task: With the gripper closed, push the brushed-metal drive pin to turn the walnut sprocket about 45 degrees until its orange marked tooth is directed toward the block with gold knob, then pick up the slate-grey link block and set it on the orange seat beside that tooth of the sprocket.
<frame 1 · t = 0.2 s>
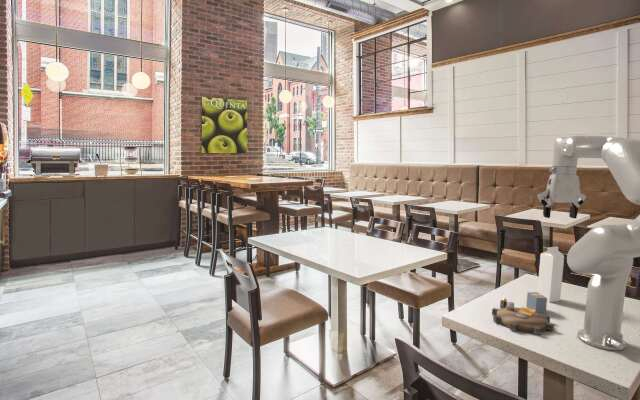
hand: (559, 217, 144), 36 cm above the table, tool pointing down, fingers open, 9 cm apart
link block: (535, 310, 149), on the table
sprocket: (521, 315, 137), point 3 cm above the table, hinge at 0.0°
block with gold knob: (503, 308, 150), on the table
milk: (548, 299, 161), on the table
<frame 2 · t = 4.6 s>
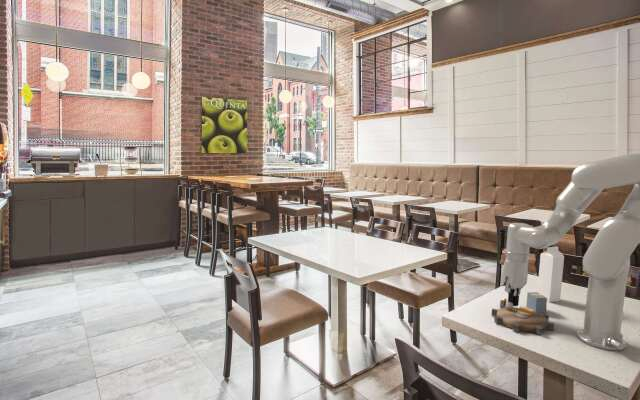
hand: (512, 304, 145), 4 cm above the table, tool pointing down, fingers closed
sprocket: (521, 315, 137), point 3 cm above the table, hinge at 5.0°, touching gripper
everything else where it was.
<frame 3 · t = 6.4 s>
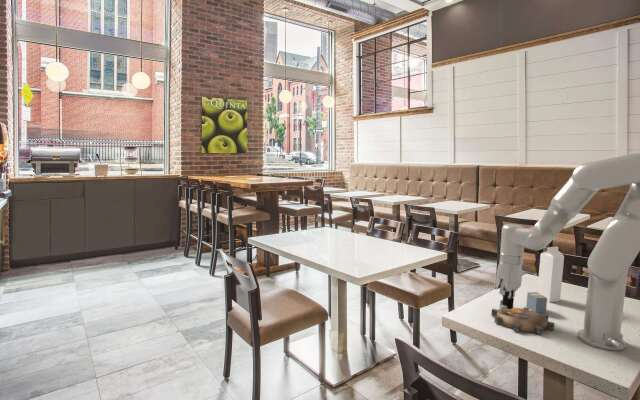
hand: (507, 307, 142), 3 cm above the table, tool pointing down, fingers closed
sprocket: (521, 315, 137), point 3 cm above the table, hinge at 51.0°
everything else where it was.
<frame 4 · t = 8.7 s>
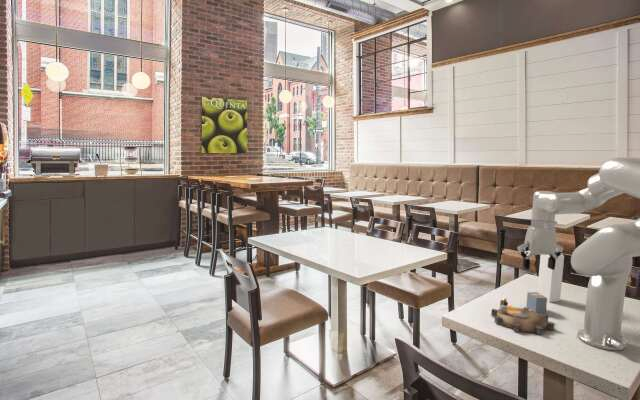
hand: (538, 268, 147), 16 cm above the table, tool pointing down, fingers open, 9 cm apart
nothing on the table moved.
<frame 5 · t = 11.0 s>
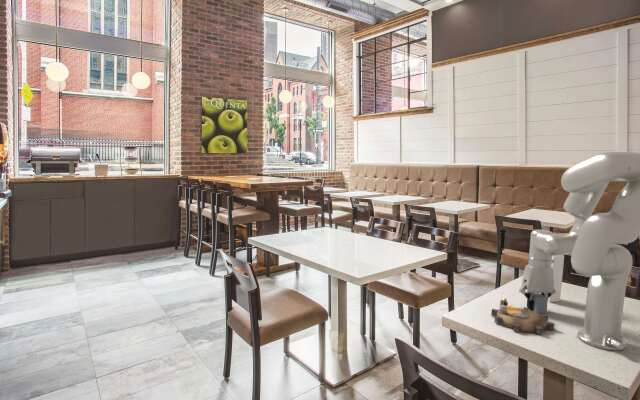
hand: (536, 308, 149), 0 cm above the table, tool pointing down, fingers closed on link block, 3 cm apart
link block: (536, 310, 149), on the table, touching gripper
everything else where it was.
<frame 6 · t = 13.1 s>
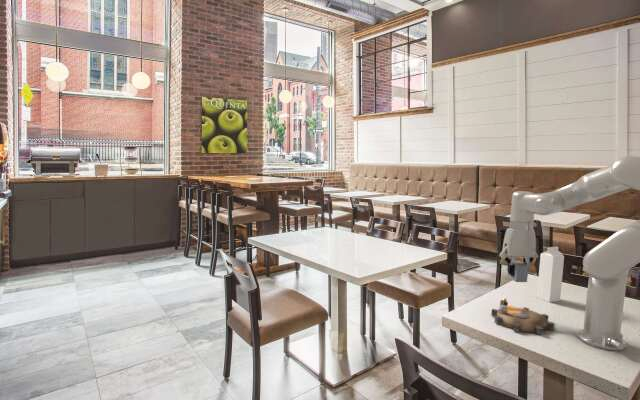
hand: (517, 274, 142), 15 cm above the table, tool pointing down, fingers closed on link block, 3 cm apart
link block: (517, 278, 143), point 14 cm above the table, touching gripper
everything else where it was.
when the fingers open (5 cm above the table, at t = 15.5 s): link block stays where it is, resting on sprocket.
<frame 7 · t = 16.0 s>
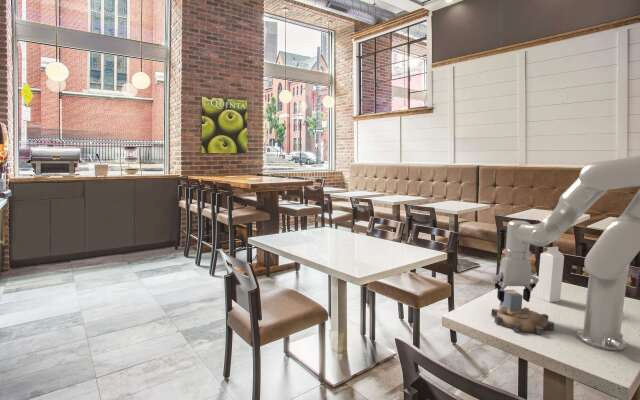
hand: (513, 300, 143), 6 cm above the table, tool pointing down, fingers open, 9 cm apart
link block: (511, 308, 144), point 2 cm above the table, touching sprocket
sprocket: (521, 315, 137), point 3 cm above the table, hinge at 51.0°, touching link block
everything else where it was.
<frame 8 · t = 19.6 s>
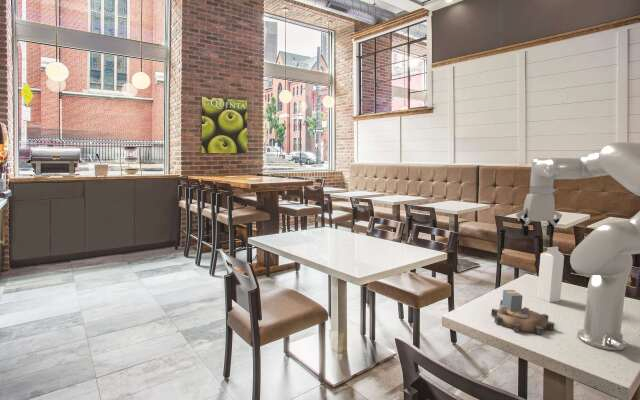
hand: (537, 235, 149), 28 cm above the table, tool pointing down, fingers open, 9 cm apart
nothing on the table moved.
at the end: sprocket at +51° (first picture: +0°); link block 0.9 cm from the target spot, point 2.4 cm above the table; link block tilted 0° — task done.
